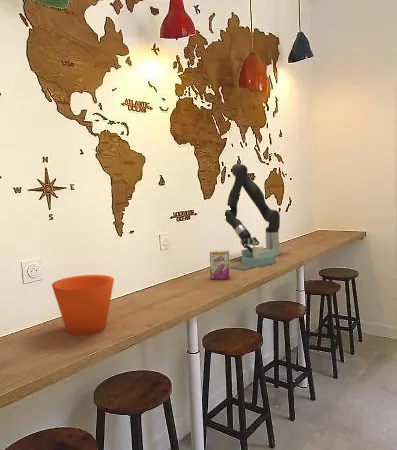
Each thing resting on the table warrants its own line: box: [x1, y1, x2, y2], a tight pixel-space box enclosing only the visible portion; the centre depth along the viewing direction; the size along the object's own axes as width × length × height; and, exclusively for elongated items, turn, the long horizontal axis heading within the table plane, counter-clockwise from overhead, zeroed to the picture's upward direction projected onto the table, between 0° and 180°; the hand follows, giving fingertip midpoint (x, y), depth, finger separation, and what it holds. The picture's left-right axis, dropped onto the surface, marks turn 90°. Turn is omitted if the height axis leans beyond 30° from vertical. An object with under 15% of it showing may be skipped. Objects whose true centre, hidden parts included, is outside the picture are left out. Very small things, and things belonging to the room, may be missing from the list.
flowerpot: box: [51, 274, 115, 336], centre depth 192 cm, size 25×25×20 cm
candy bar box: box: [209, 249, 231, 280], centre depth 271 cm, size 11×5×16 cm, turn 84°
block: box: [252, 244, 264, 259], centre depth 308 cm, size 5×5×12 cm
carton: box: [240, 247, 276, 268], centre depth 308 cm, size 17×15×10 cm
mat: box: [229, 263, 256, 271], centre depth 298 cm, size 11×12×1 cm
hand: (256, 250), depth 309 cm, fingers open, 8 cm apart
